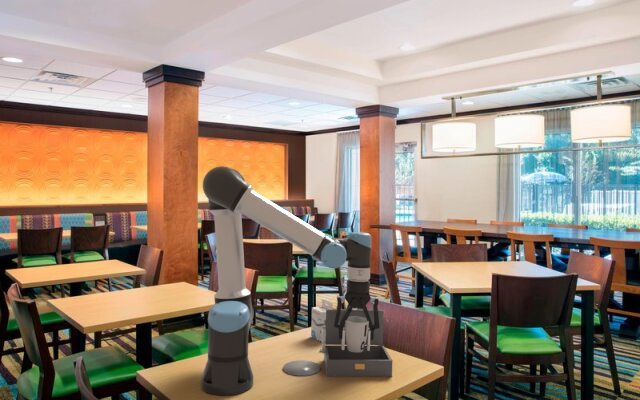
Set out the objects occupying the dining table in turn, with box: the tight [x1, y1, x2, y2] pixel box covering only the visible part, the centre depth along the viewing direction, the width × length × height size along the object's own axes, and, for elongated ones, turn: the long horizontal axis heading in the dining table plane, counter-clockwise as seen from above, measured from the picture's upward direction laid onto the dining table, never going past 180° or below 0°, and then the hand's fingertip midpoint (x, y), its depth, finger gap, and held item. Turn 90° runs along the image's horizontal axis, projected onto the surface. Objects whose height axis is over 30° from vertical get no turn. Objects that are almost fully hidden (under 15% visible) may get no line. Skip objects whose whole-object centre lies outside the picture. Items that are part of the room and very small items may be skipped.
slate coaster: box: [282, 359, 321, 377], centre depth 152 cm, size 12×12×1 cm
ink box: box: [310, 298, 334, 343], centre depth 185 cm, size 9×5×15 cm, turn 30°
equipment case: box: [321, 308, 393, 378], centre depth 154 cm, size 22×16×17 cm
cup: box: [344, 316, 369, 352], centre depth 154 cm, size 8×8×10 cm
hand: (355, 348), depth 154 cm, fingers closed on cup, 8 cm apart
